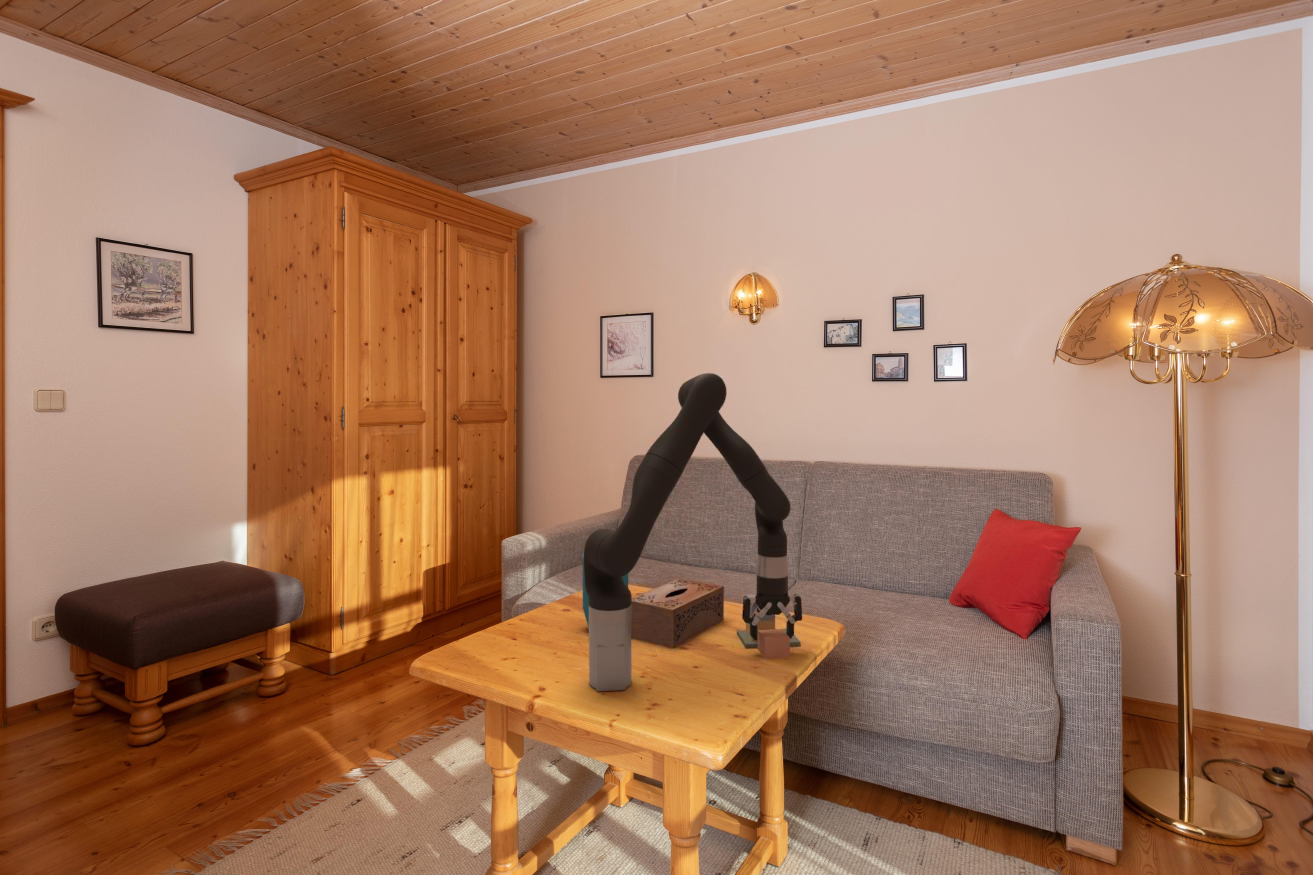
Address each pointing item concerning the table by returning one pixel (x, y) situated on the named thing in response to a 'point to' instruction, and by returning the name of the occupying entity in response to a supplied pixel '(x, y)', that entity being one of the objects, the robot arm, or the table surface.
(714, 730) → the table surface
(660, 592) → the tissue box cover
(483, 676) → the table surface
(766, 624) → the ochre block
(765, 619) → the slate block
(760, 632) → the terracotta block
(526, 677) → the table surface
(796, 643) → the felt mat
